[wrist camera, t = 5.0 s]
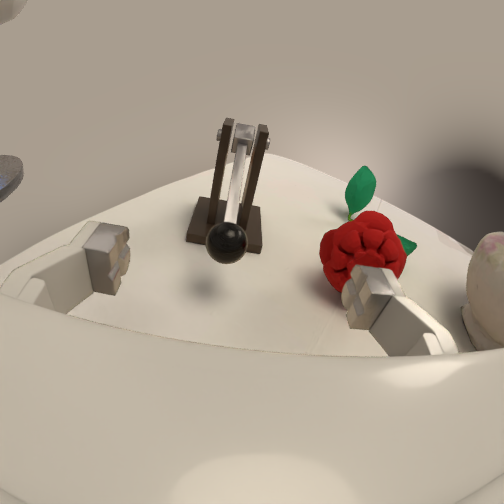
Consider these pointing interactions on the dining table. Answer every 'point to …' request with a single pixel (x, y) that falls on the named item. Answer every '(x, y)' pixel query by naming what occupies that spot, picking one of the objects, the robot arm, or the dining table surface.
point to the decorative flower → (362, 237)
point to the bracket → (214, 209)
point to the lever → (232, 205)
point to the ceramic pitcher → (486, 294)
